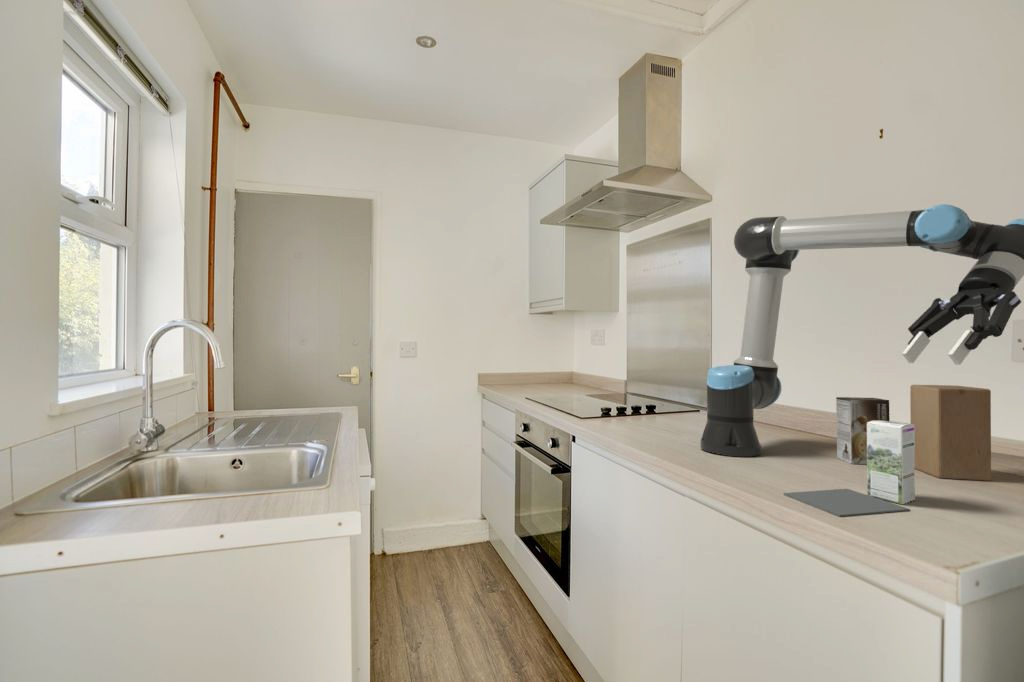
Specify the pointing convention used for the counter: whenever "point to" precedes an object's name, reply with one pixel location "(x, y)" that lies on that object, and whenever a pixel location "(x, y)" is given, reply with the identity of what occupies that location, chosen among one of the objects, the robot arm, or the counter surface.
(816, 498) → the mat
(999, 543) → the counter surface
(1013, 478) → the counter surface
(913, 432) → the syrup box
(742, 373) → the robot arm
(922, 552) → the counter surface
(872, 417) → the coffee box
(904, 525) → the counter surface
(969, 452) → the wooden block
